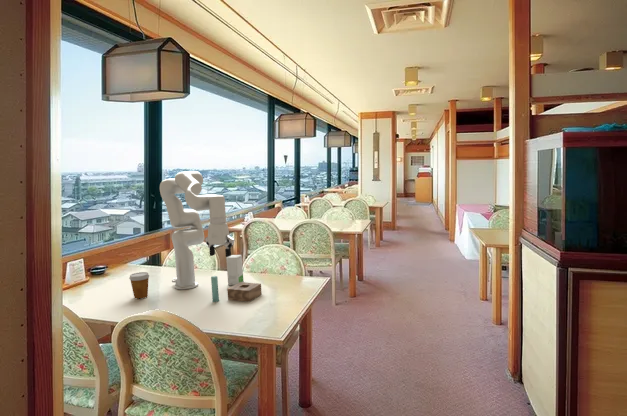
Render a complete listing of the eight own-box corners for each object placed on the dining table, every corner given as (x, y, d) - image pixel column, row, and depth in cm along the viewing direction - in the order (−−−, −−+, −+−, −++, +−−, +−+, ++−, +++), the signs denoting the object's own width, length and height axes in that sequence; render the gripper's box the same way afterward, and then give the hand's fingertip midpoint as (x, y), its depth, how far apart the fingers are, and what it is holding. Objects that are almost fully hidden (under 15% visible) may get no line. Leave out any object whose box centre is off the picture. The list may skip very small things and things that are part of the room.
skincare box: (238, 285, 228) (236, 257, 226) (227, 285, 229) (225, 257, 227) (244, 281, 236) (242, 254, 234) (233, 281, 237) (231, 254, 236)
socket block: (228, 299, 204) (227, 288, 203) (241, 292, 215) (240, 282, 214) (249, 301, 200) (248, 290, 199) (261, 294, 211) (261, 283, 210)
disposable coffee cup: (155, 294, 217) (153, 272, 216) (142, 300, 208) (140, 277, 207) (140, 293, 220) (138, 271, 219) (126, 299, 211) (124, 276, 210)
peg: (211, 301, 202) (209, 277, 201) (215, 299, 205) (213, 275, 204) (216, 302, 201) (215, 277, 200) (220, 300, 204) (218, 276, 203)
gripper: (198, 221, 201) (201, 256, 203) (227, 222, 193) (229, 258, 195) (209, 219, 208) (211, 253, 210) (237, 220, 200) (239, 255, 202)
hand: (220, 255), depth 202 cm, fingers open, 9 cm apart
